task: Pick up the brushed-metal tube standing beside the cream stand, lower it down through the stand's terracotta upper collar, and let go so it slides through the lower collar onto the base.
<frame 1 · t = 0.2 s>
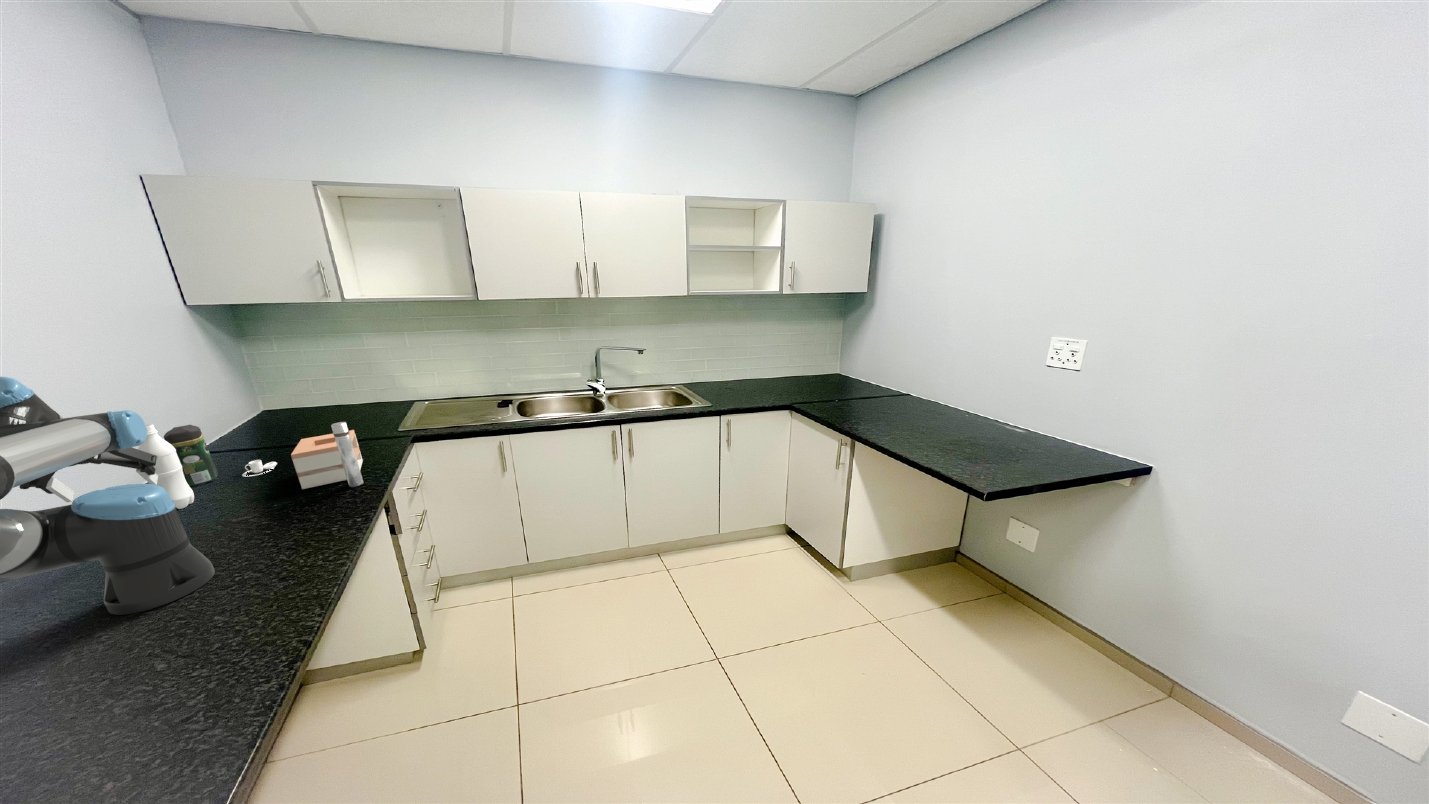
hand: (114, 488, 112), 16 cm above the countertop, tool tilted 35°, fingers open, 13 cm apart
air tube: (356, 484, 145), on the countertop
water bottle: (179, 507, 135), on the countertop
collar stand: (334, 474, 153), on the countertop
coffee jar: (201, 481, 152), on the countertop
teacup and saucer: (268, 472, 158), on the countertop
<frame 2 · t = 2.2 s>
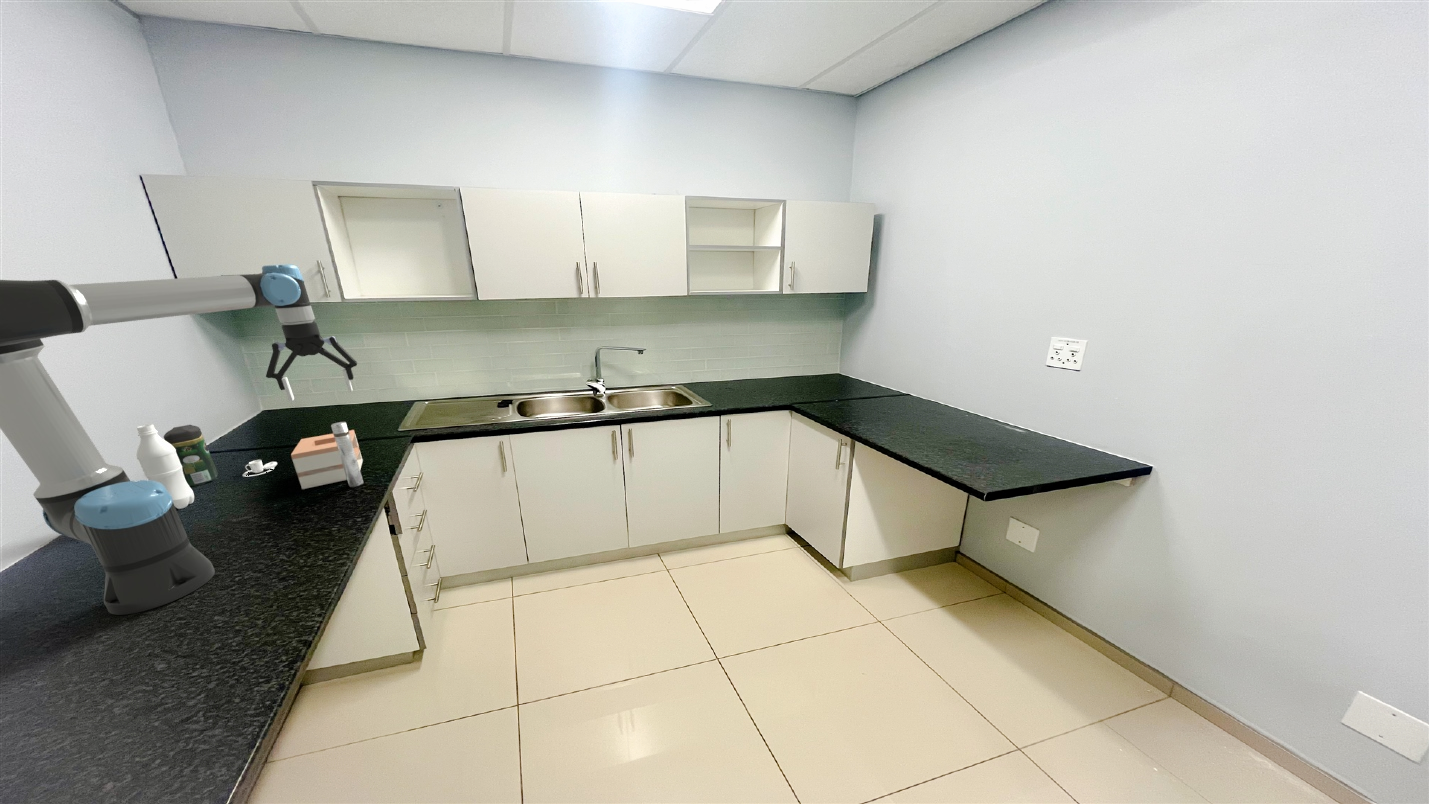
hand: (322, 395, 136), 29 cm above the countertop, tool pointing down, fingers open, 13 cm apart
nothing on the countertop moved.
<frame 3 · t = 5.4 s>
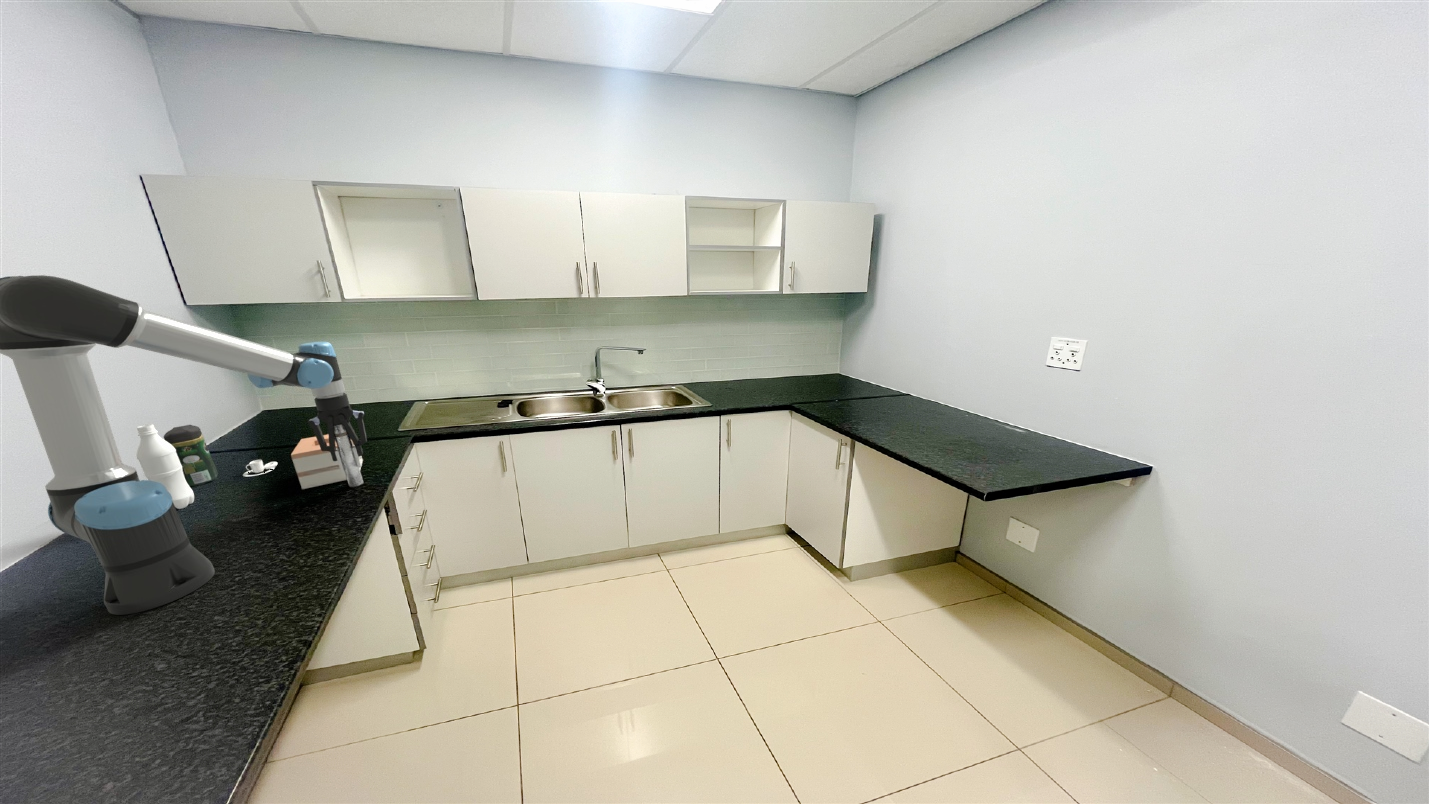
hand: (351, 467, 143), 6 cm above the countertop, tool pointing down, fingers closed on air tube, 3 cm apart
air tube: (356, 484, 145), on the countertop, touching gripper
everything else where it was.
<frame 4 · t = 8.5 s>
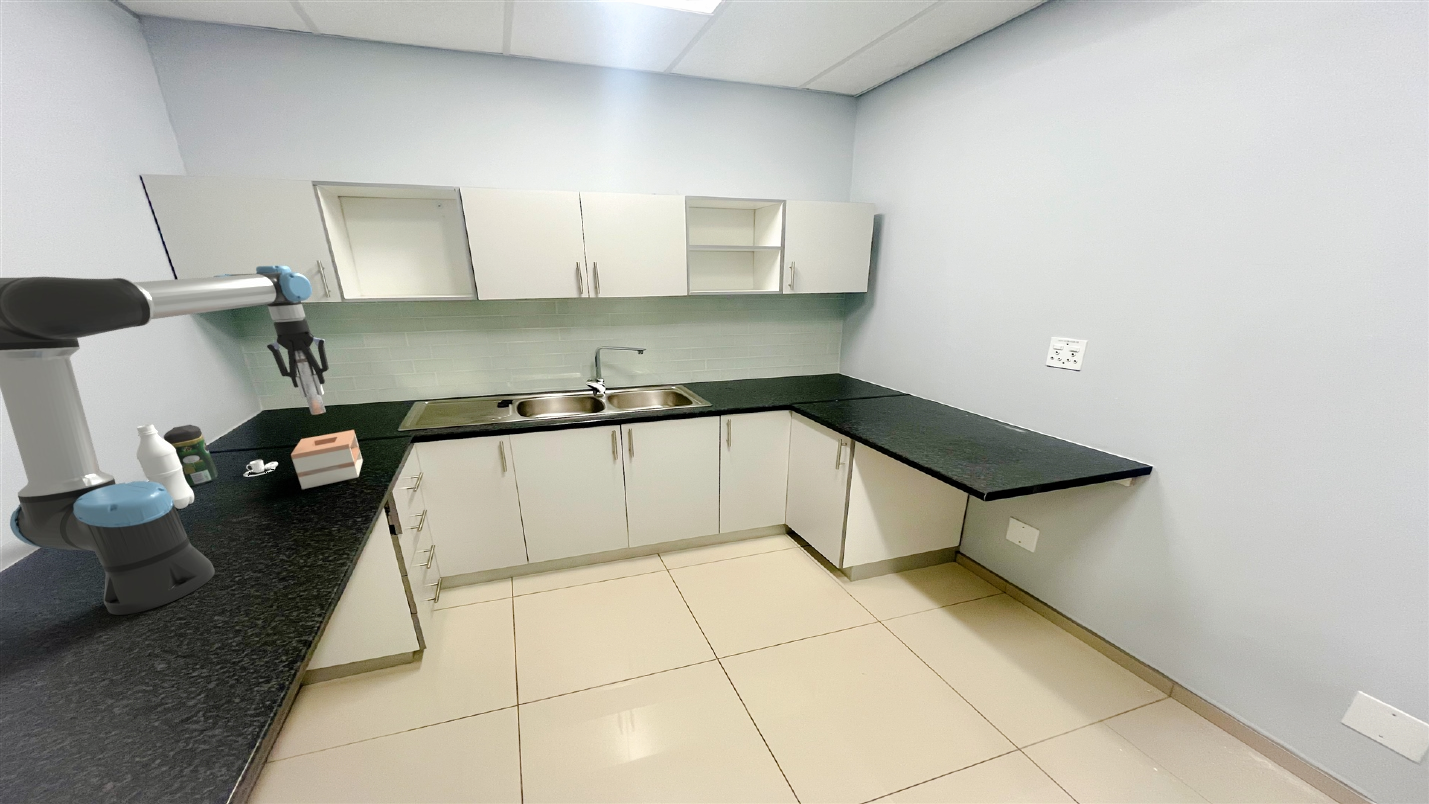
hand: (313, 395, 144), 27 cm above the countertop, tool pointing down, fingers closed on air tube, 3 cm apart
air tube: (318, 412, 146), point 21 cm above the countertop, touching gripper
everything else where it was.
when the fingers open (14 cm above the countertop, at t = 11.6 s): air tube drops 7 cm, resting on collar stand.
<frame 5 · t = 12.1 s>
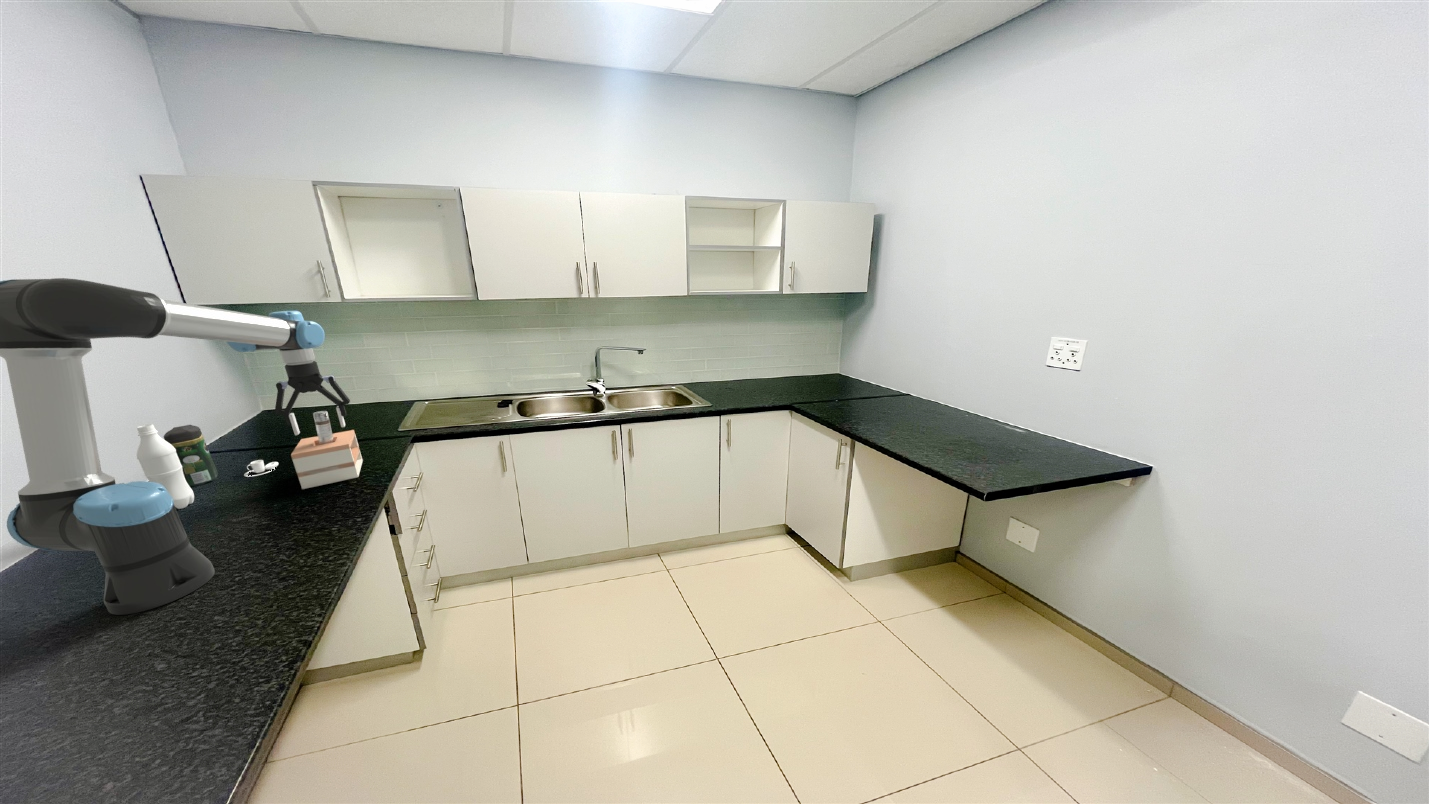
hand: (320, 429, 148), 15 cm above the countertop, tool pointing down, fingers open, 11 cm apart
air tube: (333, 471, 152), point 1 cm above the countertop, touching collar stand
everything else where it was.
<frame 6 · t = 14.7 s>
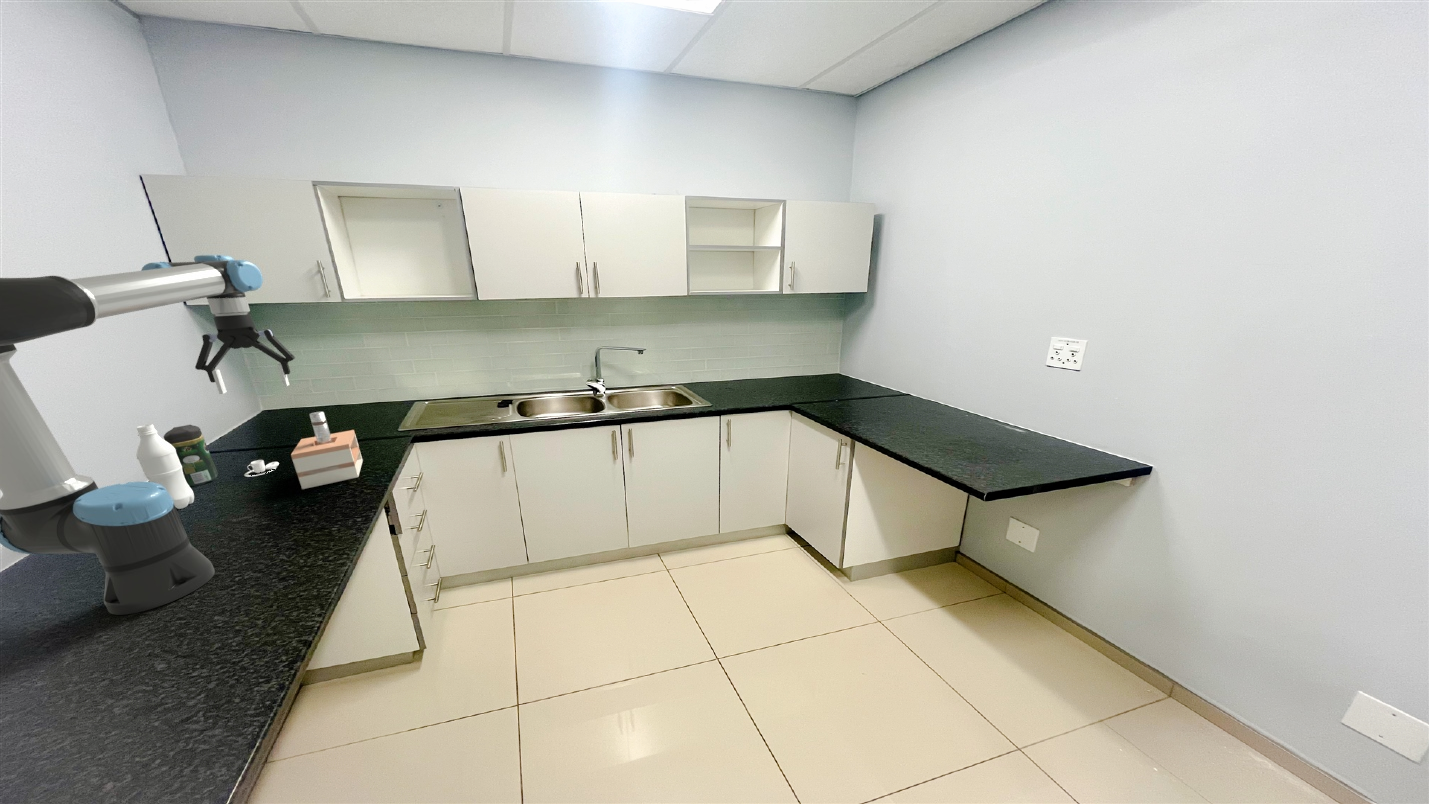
hand: (255, 389, 133), 32 cm above the countertop, tool pointing down, fingers open, 13 cm apart
nothing on the countertop moved.
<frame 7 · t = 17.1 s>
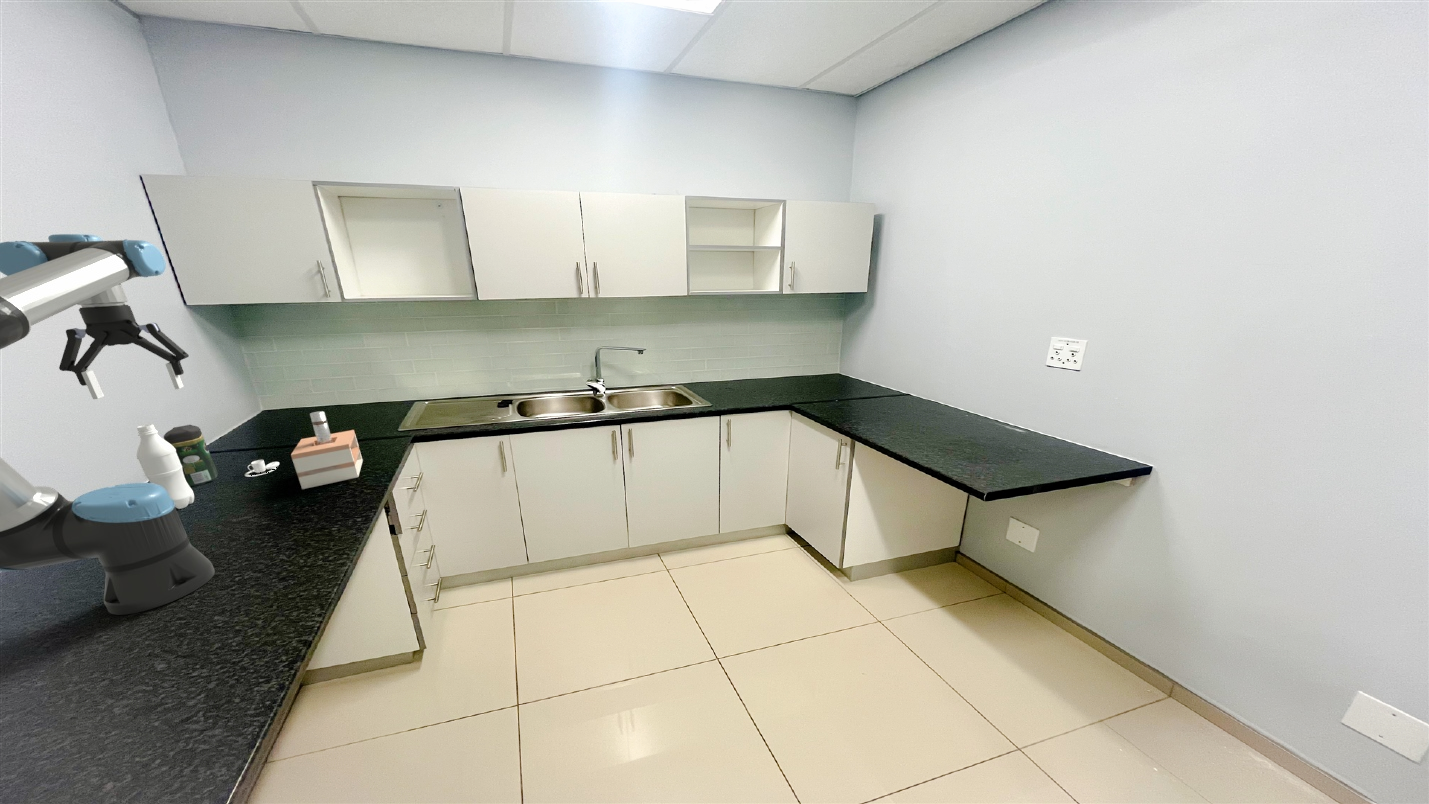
hand: (140, 393, 114), 37 cm above the countertop, tool pointing down, fingers open, 13 cm apart
nothing on the countertop moved.
at the end: air tube 0.1 cm off-centre on the collar stand, point 1.1 cm above the collar stand's base; air tube tilted 2°; the gripper is holding nothing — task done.
